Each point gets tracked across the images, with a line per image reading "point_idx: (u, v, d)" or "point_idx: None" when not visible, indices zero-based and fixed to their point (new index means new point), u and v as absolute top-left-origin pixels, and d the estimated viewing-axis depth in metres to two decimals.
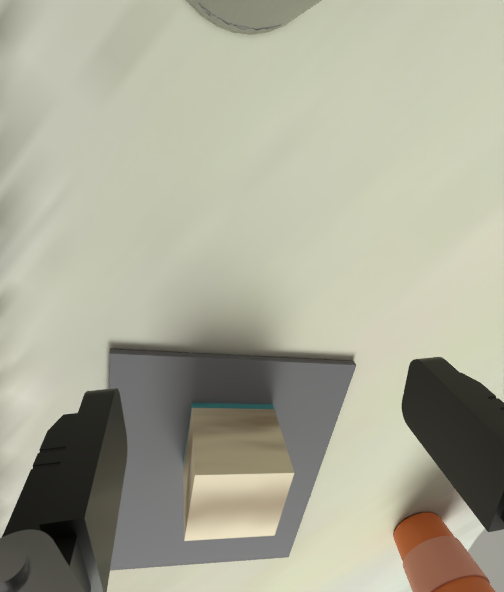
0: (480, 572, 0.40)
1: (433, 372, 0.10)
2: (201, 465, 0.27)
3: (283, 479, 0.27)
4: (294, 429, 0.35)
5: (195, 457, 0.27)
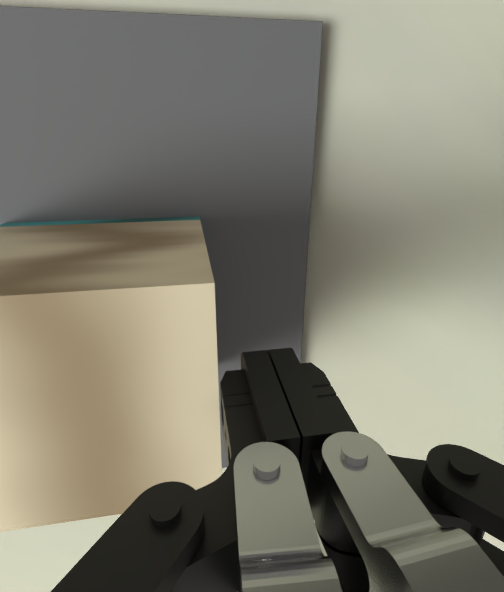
0: None
1: (274, 361, 0.10)
2: None
3: (200, 485, 0.11)
4: None
5: None
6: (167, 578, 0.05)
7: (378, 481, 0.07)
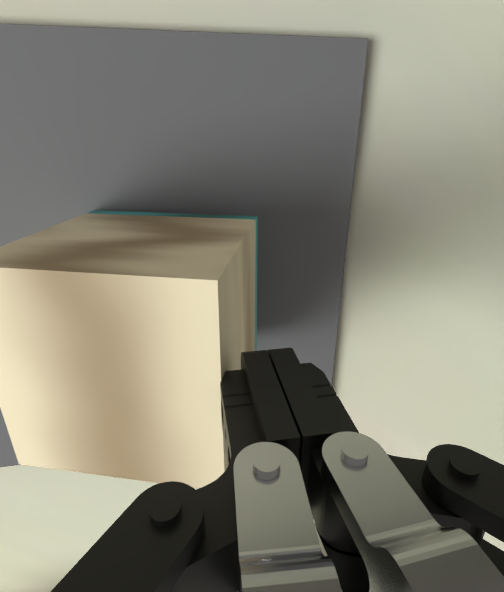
0: None
1: (274, 361, 0.10)
2: (224, 288, 0.10)
3: (203, 473, 0.12)
4: None
5: (229, 264, 0.10)
6: (167, 578, 0.05)
7: (378, 481, 0.07)
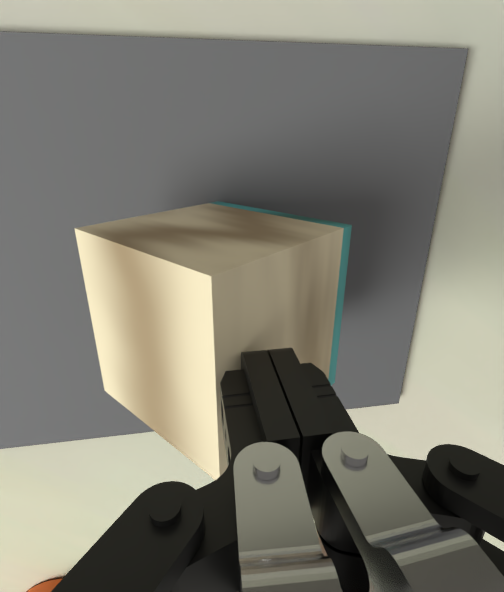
0: None
1: (274, 361, 0.10)
2: (233, 286, 0.10)
3: (205, 457, 0.12)
4: None
5: (251, 265, 0.10)
6: (167, 578, 0.05)
7: (378, 481, 0.07)
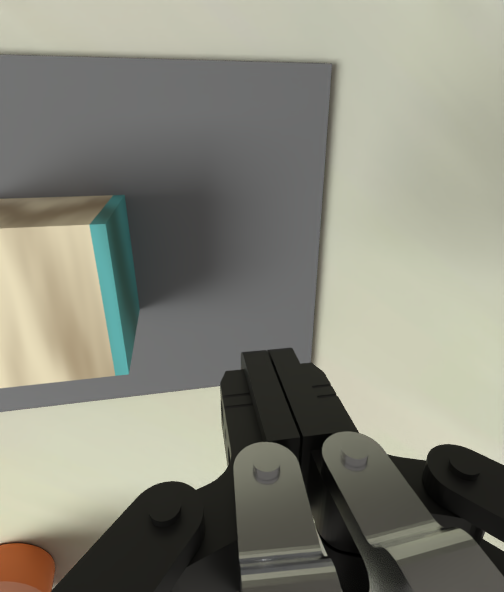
0: None
1: (274, 361, 0.10)
2: None
3: None
4: (207, 339, 0.26)
5: None
6: (167, 578, 0.05)
7: (378, 481, 0.07)
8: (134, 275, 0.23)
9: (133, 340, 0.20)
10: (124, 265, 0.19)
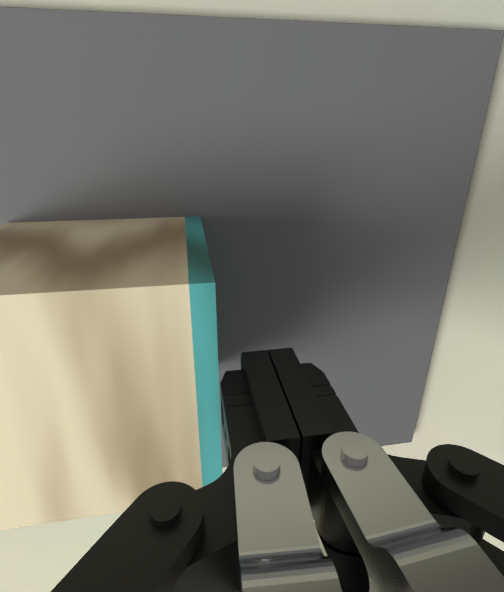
0: None
1: (274, 361, 0.10)
2: None
3: None
4: None
5: None
6: (167, 578, 0.05)
7: (378, 481, 0.07)
8: None
9: None
10: None
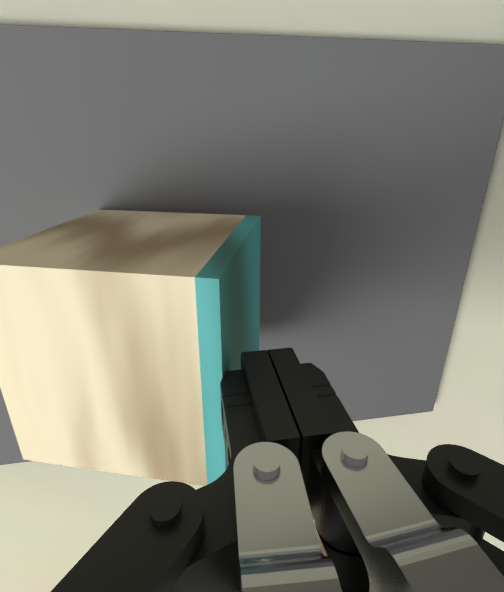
0: None
1: (274, 361, 0.10)
2: None
3: None
4: (328, 372, 0.22)
5: (10, 268, 0.10)
6: (167, 578, 0.05)
7: (378, 481, 0.07)
8: (258, 322, 0.17)
9: None
10: (244, 321, 0.13)
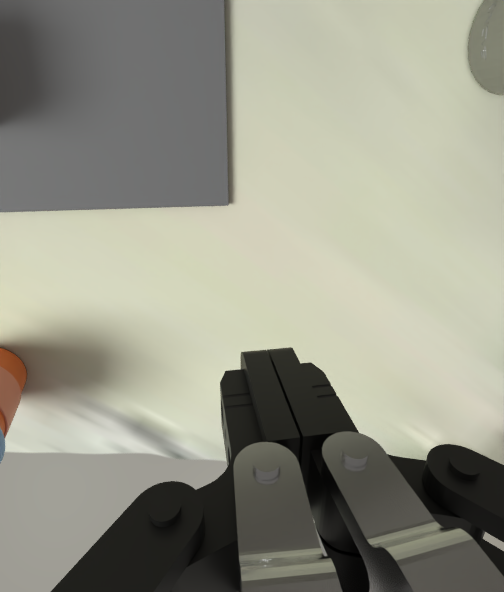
0: (7, 431, 0.34)
1: (274, 361, 0.10)
2: None
3: None
4: (141, 162, 0.33)
5: None
6: (167, 578, 0.05)
7: (378, 481, 0.07)
8: None
9: None
10: None
